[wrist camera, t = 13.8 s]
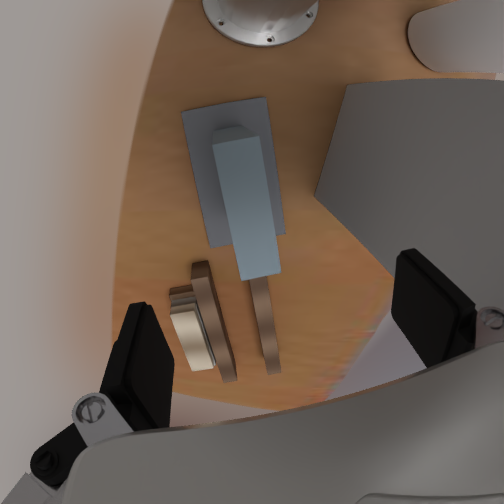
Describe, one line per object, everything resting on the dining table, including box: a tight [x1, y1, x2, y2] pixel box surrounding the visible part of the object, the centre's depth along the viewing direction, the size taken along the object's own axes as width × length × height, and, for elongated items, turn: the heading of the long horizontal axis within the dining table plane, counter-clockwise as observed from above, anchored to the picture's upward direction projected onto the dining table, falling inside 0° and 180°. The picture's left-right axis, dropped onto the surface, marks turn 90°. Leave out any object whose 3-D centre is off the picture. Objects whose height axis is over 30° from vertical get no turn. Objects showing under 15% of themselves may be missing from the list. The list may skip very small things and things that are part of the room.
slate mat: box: [181, 97, 286, 248], centre depth 34 cm, size 16×9×1 cm, turn 9°
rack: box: [191, 261, 281, 383], centre depth 41 cm, size 18×8×4 cm, turn 9°
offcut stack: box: [169, 285, 216, 371], centre depth 41 cm, size 12×4×5 cm, turn 9°
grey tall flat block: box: [314, 78, 504, 311], centre depth 21 cm, size 14×6×30 cm, turn 165°
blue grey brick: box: [212, 125, 281, 281], centre depth 28 cm, size 10×3×14 cm, turn 10°
